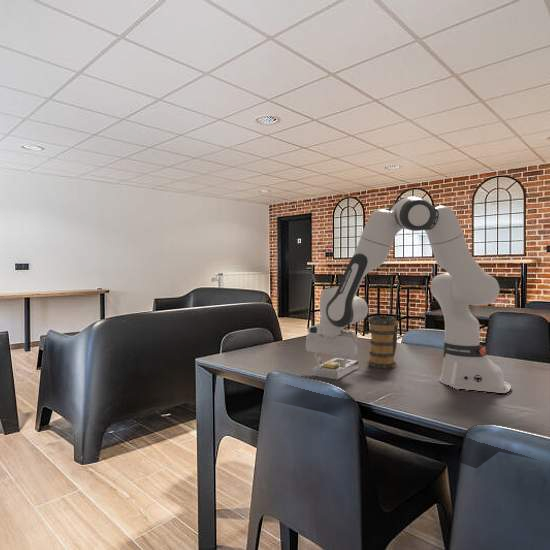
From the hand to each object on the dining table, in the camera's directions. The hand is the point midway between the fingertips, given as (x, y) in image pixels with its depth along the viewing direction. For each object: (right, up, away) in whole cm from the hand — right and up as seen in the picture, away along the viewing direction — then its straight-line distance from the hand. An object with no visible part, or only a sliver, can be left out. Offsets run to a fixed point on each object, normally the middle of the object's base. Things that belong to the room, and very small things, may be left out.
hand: (330, 365), depth 155 cm
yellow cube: (0, -4, 0) cm, 4 cm away
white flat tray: (+3, -3, +4) cm, 6 cm away
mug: (+25, -3, +16) cm, 30 cm away
